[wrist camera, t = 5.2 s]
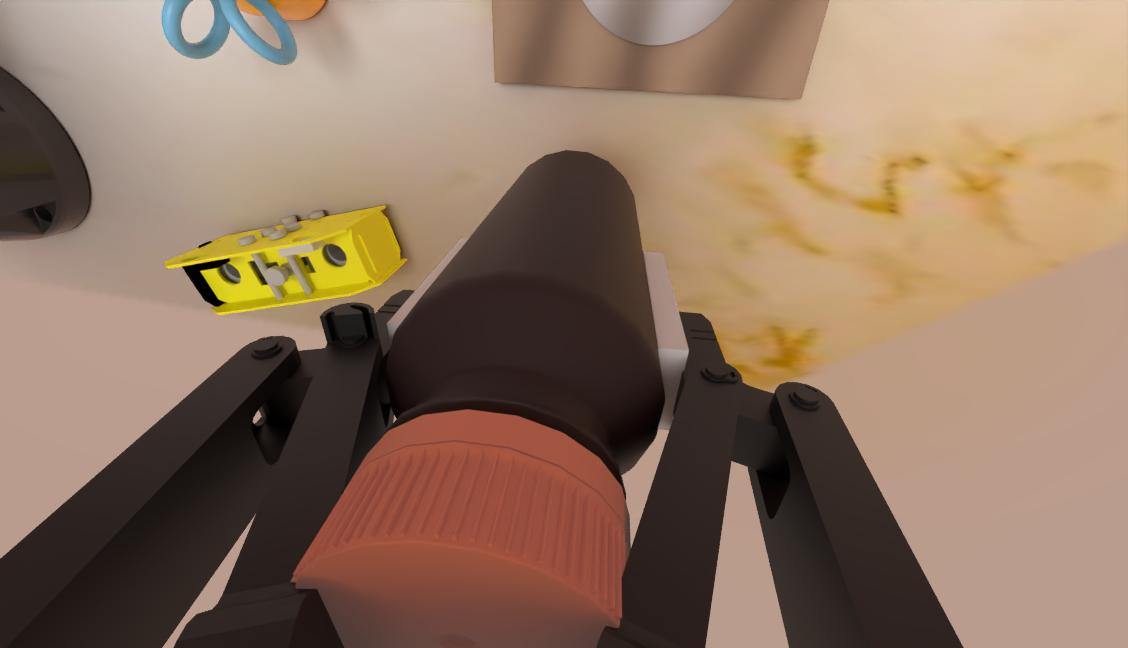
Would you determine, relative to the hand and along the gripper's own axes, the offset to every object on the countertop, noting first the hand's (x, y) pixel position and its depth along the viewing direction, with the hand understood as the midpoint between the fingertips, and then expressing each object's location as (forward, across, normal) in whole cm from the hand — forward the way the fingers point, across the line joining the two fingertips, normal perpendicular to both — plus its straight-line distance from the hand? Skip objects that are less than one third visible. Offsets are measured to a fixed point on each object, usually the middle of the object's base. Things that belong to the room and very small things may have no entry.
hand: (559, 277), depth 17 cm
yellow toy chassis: (+19, -23, -8) cm, 31 cm away
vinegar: (+7, 0, 0) cm, 7 cm away
